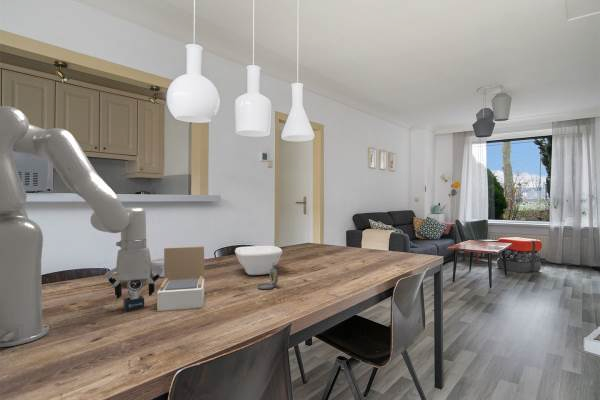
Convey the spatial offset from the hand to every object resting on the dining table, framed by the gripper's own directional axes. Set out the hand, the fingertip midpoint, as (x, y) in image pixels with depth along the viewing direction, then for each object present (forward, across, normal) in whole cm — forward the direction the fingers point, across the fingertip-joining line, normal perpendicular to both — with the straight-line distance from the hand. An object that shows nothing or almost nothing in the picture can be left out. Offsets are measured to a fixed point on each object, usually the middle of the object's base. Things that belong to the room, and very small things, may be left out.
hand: (135, 295), depth 110 cm
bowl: (+5, +46, +38) cm, 59 cm away
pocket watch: (+5, +47, +13) cm, 49 cm away
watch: (+4, 0, 0) cm, 4 cm away
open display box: (+4, +15, +3) cm, 15 cm away
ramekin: (+5, +3, +47) cm, 47 cm away
